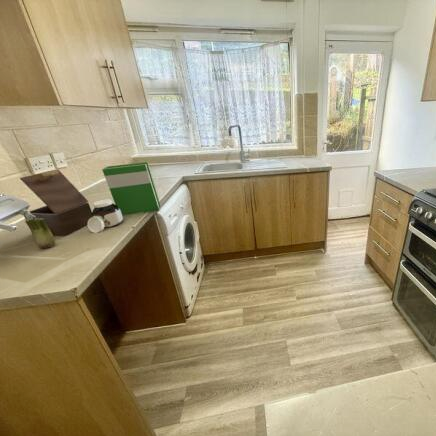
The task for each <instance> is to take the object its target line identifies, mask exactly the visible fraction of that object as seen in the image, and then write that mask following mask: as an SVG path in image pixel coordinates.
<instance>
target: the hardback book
mask: <svg viewBox="0 0 436 436" xmlns="http://www.w3.org/2000/svg"><path fill="white" fill-rule="evenodd" d="M101 171H102V173H103V176H104V178H105V181H106V184H107V187H108V189H109V191H110V194H111V196H112V199H113V202H114V204H115V205H117V206H118V207H119V208H120V211H121V213H122V216H130V215H134V214H142V213H150V212H156V211H160V207H161V203H160V199H159V196H158V193H157V189H156V186H155V182H154V178H153V176H152V173H151V170H150V166H149V163H148V161H144V162H135V163H127V164H118V165H109V166H105V167H104V168H102V169H101Z"/></svg>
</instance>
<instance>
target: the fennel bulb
mask: <svg viewBox="0 0 436 436" xmlns="http://www.w3.org/2000/svg"><path fill="white" fill-rule="evenodd" d="M34 221H35V222H34ZM34 221H33V219H30V220H26V219H25V220H24V222H25V223H26V224H25V225H27V227H28V228H29V230H30V232H31V235H32V236H31V237H32V239H33V241H34V243H35V245H36V246H37V247H38V248H40V249H48V248H51V247H53V246H55V244H56V242H55V241H56V240H55V238H54V235H52V233H51V231H50V230H49V228H48V226H47V224H46V222H45V220H44V218H42V219H38V218H37V219H34Z"/></svg>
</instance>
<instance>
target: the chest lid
mask: <svg viewBox="0 0 436 436" xmlns="http://www.w3.org/2000/svg"><path fill="white" fill-rule="evenodd" d="M19 180H20V181H22V183H23V184H24V185H25V186H27V188H28V189H30V191H32V193H33V194H34V195H36V196H37V198H38V199H39V200H40V201H41V202H43V203H44V205H45V206H48V207H49V208H50V209H51V210H52V211H53V212H54V213H55V214H58V213H60V212H63V211H66V210H68V209H71V208H74V207H76V206H79V205H82V204H84V203H89V200H88V199H87V198H86V197H85V196H84V195H83V194H82V193H81V192H80V191H79V189H78V188H77V187H76V186H75V185H74V184H73V183H72V181H70V180H69V179H68V178H67V177H66V176H65V175H64V174H63V173H62V172H61V170H60V169H53V170H50V171H45V172H40V173H36V174H30V175H26V176H22V177H20V178H19Z"/></svg>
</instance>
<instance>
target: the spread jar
mask: <svg viewBox="0 0 436 436" xmlns="http://www.w3.org/2000/svg"><path fill="white" fill-rule="evenodd" d="M92 206H93V210H92V216H93V217H92V218H90V219H89V220H88V223H87V226H86V227H87V228H88V230H89V231H90V232H91V233H92V234H93V233H94V234H97V233H98V234H99V233H101V232H102V231H104V229H111V228H114V227H117V226H120V225H121V224H122V222H123V221H124V217H123V216H124V215H123V216H122V213H121V211H120V208H119V207H118V206H117V205H115V203H113V200H112V199H110V198H106V199H105V198H104V199H101V200H97V201H94V202H92Z"/></svg>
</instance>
